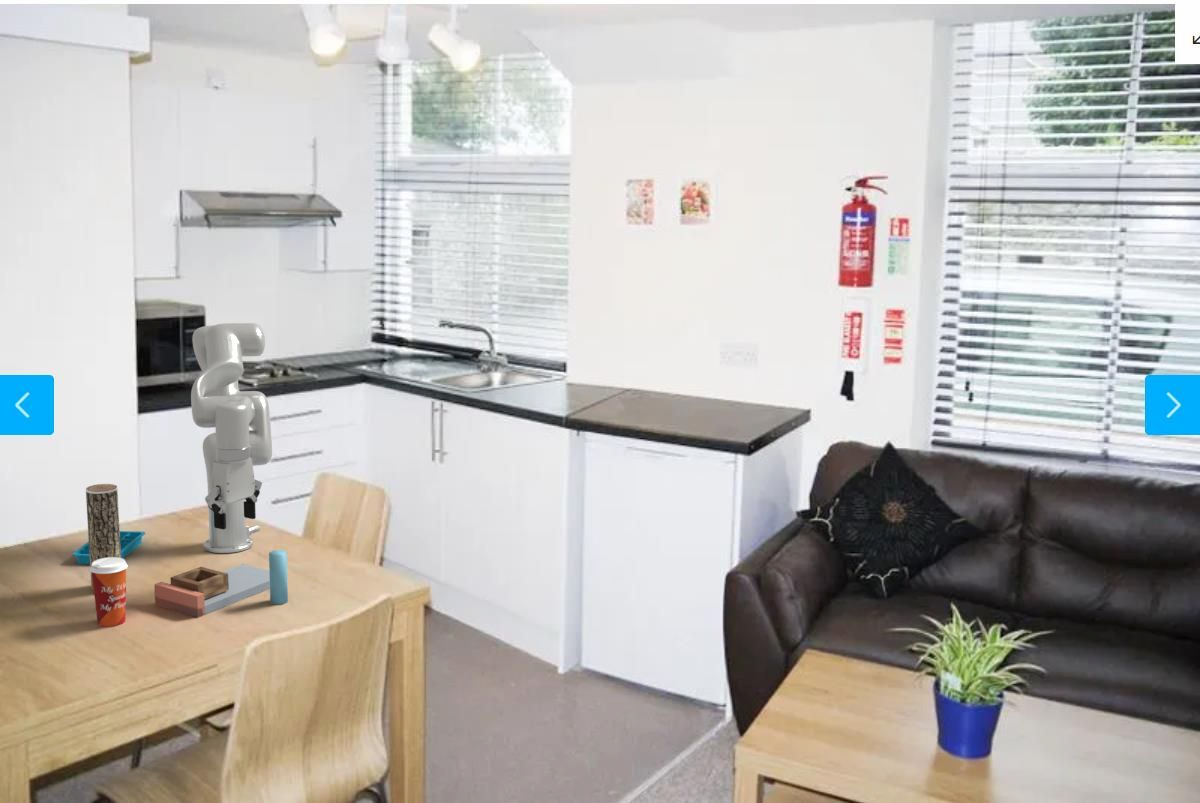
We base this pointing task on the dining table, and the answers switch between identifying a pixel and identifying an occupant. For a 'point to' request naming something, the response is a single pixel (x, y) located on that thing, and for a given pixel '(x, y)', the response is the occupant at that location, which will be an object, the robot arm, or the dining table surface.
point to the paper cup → (110, 590)
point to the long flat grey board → (193, 603)
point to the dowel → (278, 577)
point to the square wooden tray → (202, 581)
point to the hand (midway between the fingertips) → (235, 523)
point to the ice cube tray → (127, 545)
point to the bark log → (103, 522)
